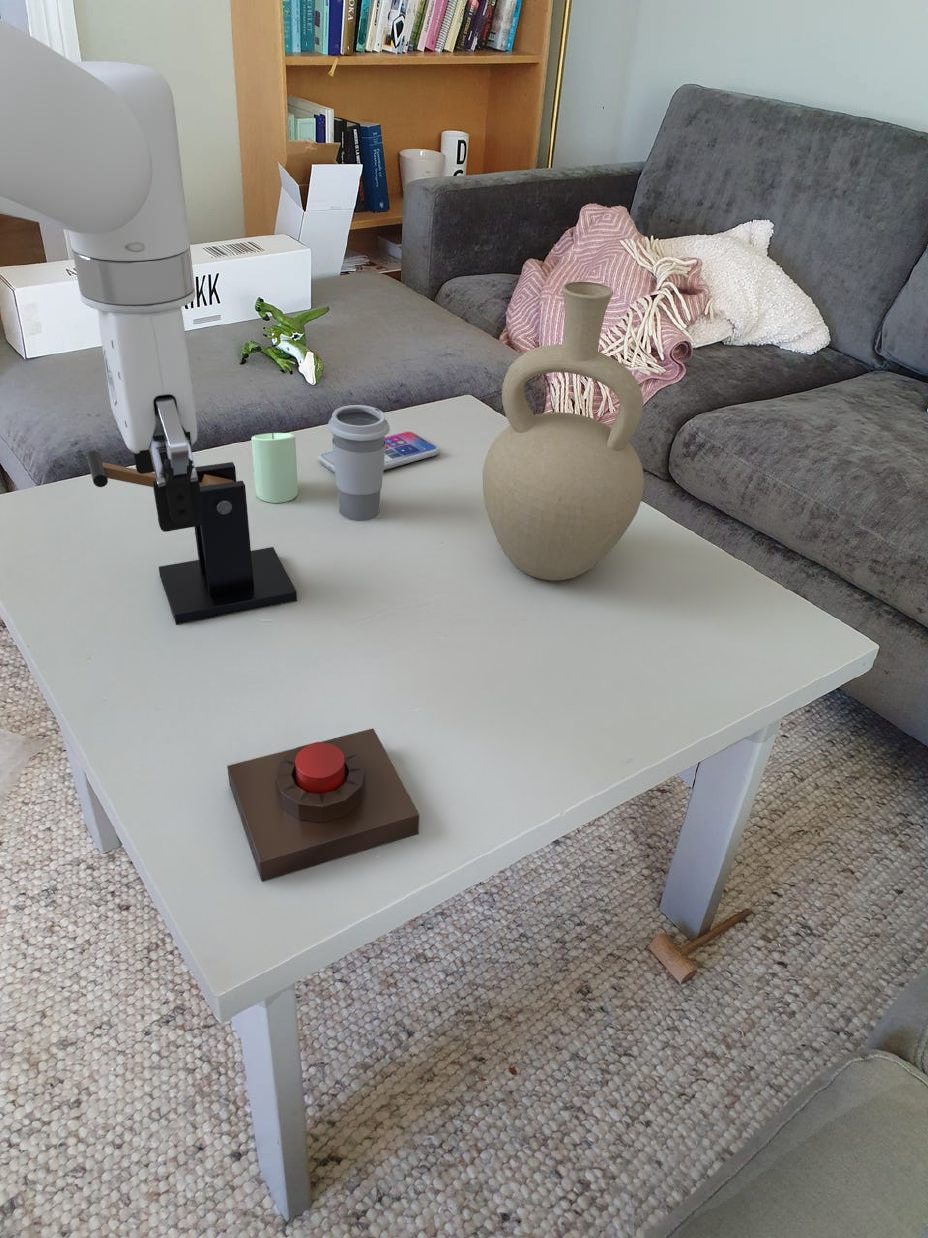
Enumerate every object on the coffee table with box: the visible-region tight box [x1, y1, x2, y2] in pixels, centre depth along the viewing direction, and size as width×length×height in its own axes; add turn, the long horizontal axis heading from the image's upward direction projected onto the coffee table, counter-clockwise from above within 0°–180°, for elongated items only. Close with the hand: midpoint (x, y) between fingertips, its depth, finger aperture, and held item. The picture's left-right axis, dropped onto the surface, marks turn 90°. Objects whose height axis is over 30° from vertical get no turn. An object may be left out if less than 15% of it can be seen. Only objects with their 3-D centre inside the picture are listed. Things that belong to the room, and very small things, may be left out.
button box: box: [226, 728, 420, 882], centre depth 69 cm, size 12×10×4 cm
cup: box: [327, 404, 390, 521], centre depth 105 cm, size 7×7×12 cm
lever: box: [86, 450, 233, 488], centre depth 84 cm, size 13×5×2 cm, turn 115°
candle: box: [251, 432, 299, 504], centre depth 108 cm, size 5×5×8 cm
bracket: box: [158, 461, 298, 625], centre depth 90 cm, size 12×9×13 cm
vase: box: [482, 280, 645, 582], centre depth 92 cm, size 17×17×30 cm
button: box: [295, 742, 345, 794], centre depth 68 cm, size 4×4×2 cm
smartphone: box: [318, 431, 440, 474], centre depth 119 cm, size 7×1×15 cm
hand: (169, 497), depth 72 cm, fingers open, 9 cm apart
